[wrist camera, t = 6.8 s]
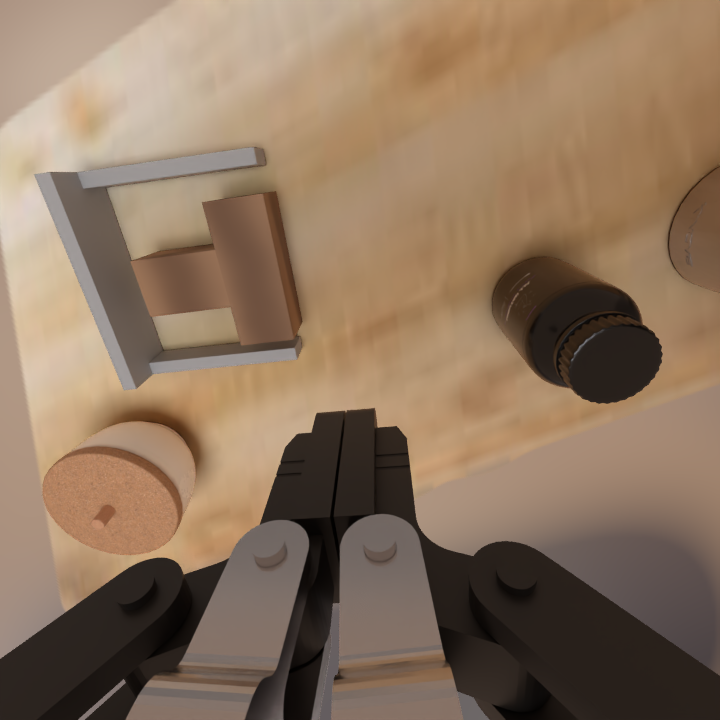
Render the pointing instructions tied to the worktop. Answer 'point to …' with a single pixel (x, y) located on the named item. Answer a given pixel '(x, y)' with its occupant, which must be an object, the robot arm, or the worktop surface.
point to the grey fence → (116, 275)
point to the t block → (230, 271)
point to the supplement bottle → (576, 330)
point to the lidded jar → (122, 488)
